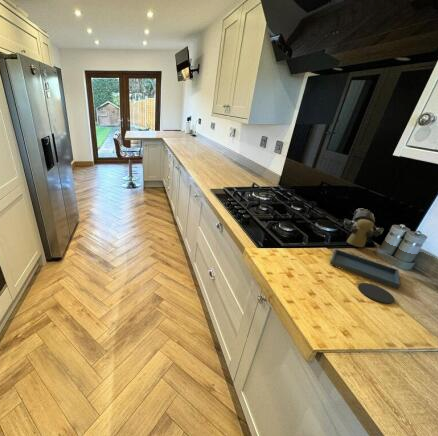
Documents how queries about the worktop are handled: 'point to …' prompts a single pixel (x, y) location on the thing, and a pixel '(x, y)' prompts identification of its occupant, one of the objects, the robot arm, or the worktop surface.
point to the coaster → (376, 293)
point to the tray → (366, 268)
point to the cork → (360, 233)
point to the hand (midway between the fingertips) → (361, 233)
